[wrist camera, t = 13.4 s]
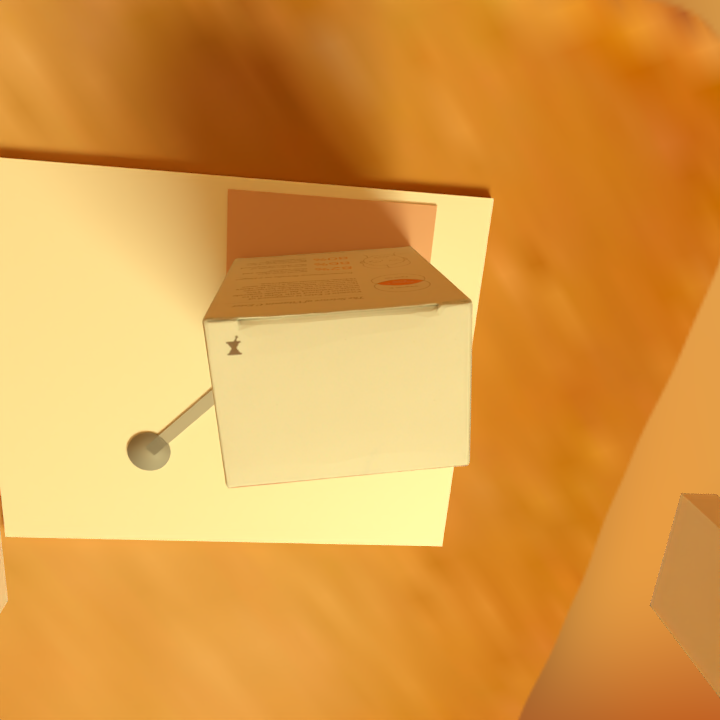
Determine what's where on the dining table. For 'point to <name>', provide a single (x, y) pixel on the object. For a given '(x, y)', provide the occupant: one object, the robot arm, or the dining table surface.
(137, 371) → the paper sheet
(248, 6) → the dining table surface
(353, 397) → the small box
